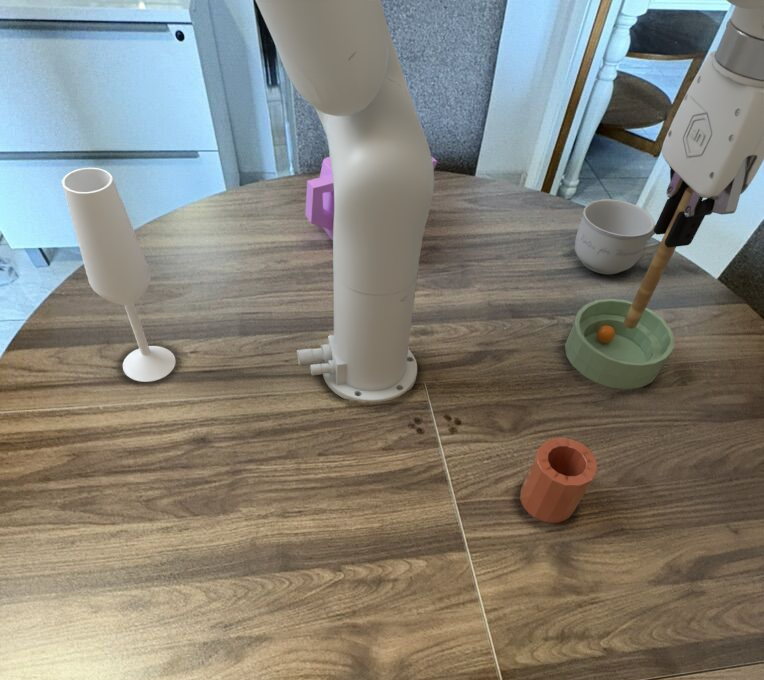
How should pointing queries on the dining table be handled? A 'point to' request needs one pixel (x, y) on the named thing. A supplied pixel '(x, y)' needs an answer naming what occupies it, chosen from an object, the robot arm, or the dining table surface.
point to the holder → (557, 479)
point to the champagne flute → (114, 260)
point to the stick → (654, 271)
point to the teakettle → (324, 198)
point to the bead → (605, 334)
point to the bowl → (618, 345)
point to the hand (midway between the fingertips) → (671, 237)
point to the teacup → (613, 236)
